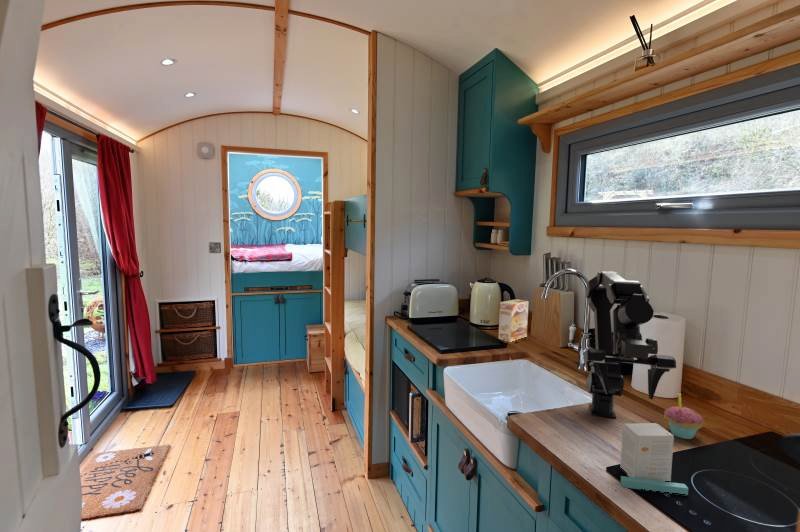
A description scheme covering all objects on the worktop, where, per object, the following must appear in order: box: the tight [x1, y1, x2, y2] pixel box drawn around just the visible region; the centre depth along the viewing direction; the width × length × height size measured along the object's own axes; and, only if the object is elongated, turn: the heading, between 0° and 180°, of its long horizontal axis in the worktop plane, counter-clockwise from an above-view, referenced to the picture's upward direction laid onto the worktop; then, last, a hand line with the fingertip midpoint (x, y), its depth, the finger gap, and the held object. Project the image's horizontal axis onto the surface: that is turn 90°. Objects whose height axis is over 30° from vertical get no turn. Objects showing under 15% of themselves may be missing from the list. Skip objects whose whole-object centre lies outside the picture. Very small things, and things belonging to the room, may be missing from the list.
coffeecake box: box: [497, 298, 530, 342], centre depth 194 cm, size 15×7×20 cm, turn 132°
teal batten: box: [620, 475, 689, 496], centre depth 83 cm, size 2×12×2 cm, turn 78°
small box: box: [619, 422, 675, 482], centre depth 88 cm, size 8×6×10 cm
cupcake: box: [663, 390, 704, 440], centre depth 106 cm, size 9×8×12 cm
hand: (628, 396), depth 95 cm, fingers open, 9 cm apart
